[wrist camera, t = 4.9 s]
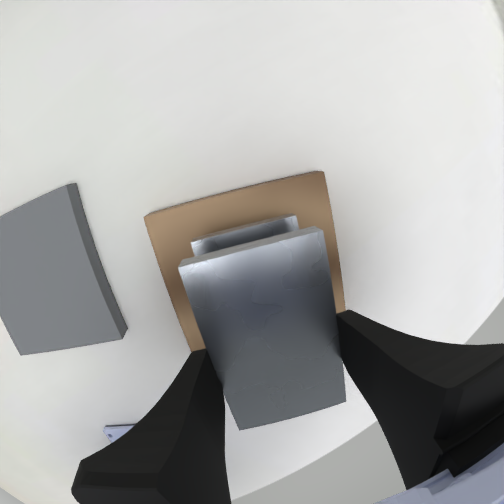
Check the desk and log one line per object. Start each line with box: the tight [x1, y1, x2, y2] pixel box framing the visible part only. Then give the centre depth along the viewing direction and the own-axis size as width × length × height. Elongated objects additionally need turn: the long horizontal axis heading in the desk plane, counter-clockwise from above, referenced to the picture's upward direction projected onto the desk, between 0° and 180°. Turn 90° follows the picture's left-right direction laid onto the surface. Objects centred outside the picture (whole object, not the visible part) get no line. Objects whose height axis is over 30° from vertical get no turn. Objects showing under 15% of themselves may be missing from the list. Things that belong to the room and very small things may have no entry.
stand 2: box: [144, 171, 346, 352], centre depth 20 cm, size 11×11×2 cm
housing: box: [178, 213, 346, 430], centre depth 13 cm, size 8×5×5 cm, turn 14°
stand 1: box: [0, 183, 128, 355], centre depth 18 cm, size 11×11×2 cm
